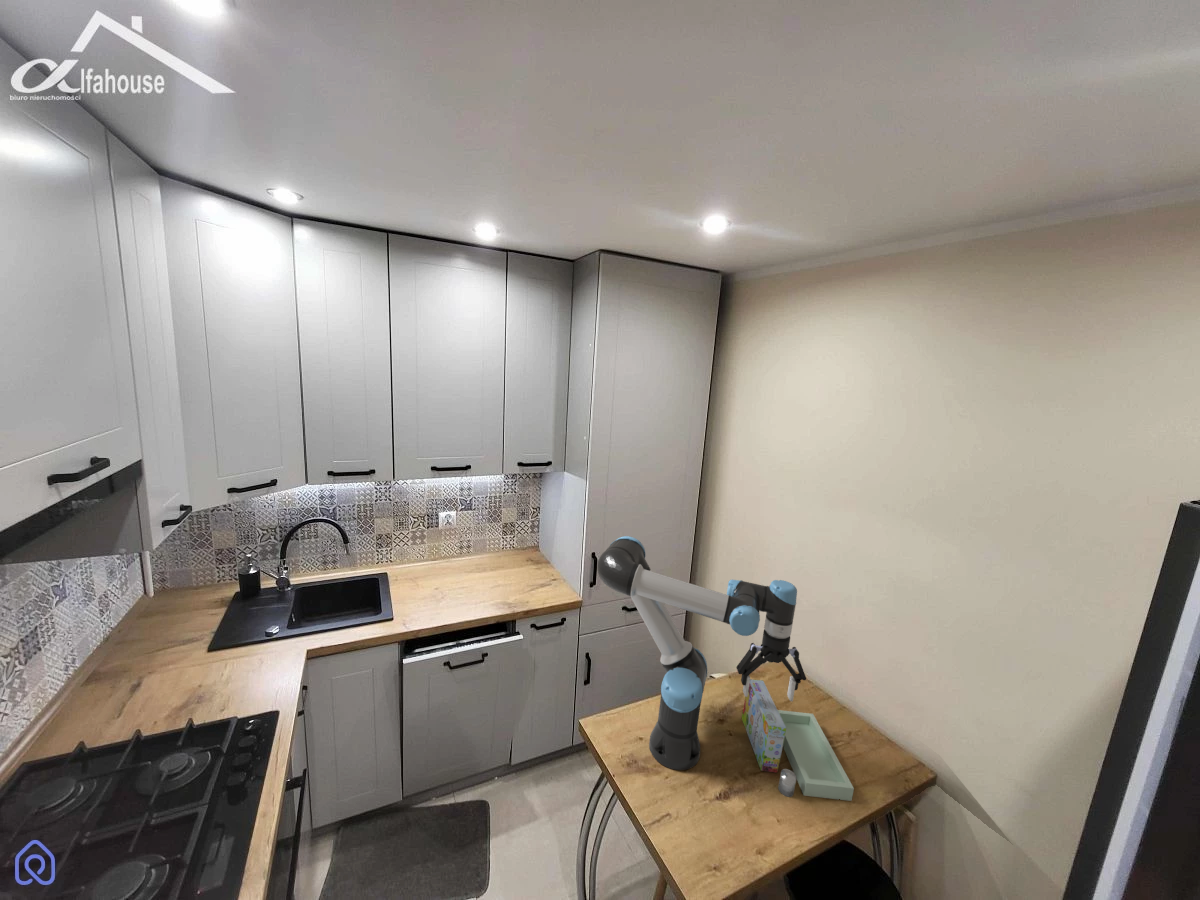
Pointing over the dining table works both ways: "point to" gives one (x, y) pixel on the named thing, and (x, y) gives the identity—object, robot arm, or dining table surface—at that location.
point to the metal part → (787, 782)
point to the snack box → (763, 726)
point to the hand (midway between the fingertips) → (767, 696)
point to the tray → (813, 758)
